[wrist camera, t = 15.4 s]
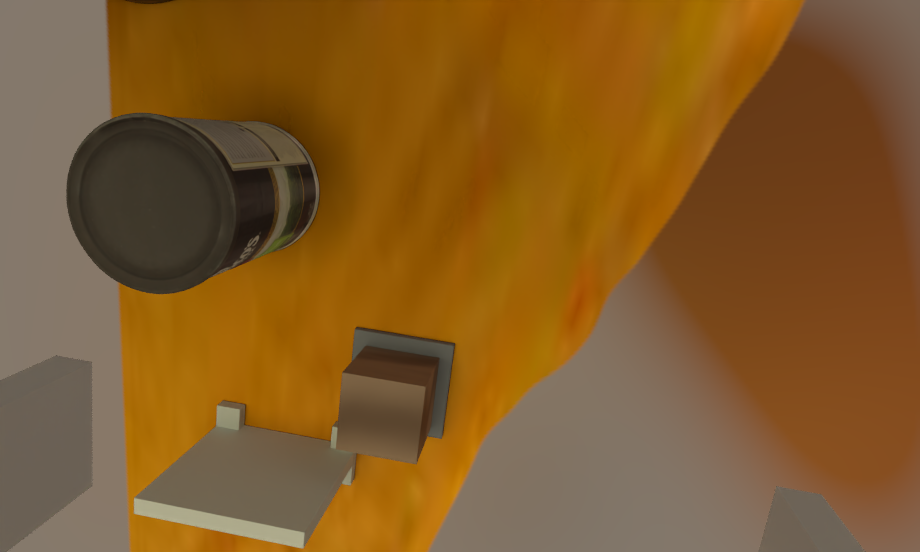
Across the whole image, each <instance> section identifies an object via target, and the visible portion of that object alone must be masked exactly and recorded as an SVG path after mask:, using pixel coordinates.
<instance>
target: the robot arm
mask: <svg viewBox="0 0 920 552" xmlns="http://www.w3.org/2000/svg"><path fill="white" fill-rule="evenodd" d="M126 1H130V2H135V3H145V4H153V3H161V2H167V1H170V0H126ZM90 487H92V362H89V361H83V360H78V359H73V358H67V357H62V356H54V357H52V358H50V359H48V360H45V361H43V362H41V363H39V364H36V365H34V366H32V367H29V368H27V369H25V370H23V371H20V372H18V373H16V374H14V375H11V376H9V377H7V378H5V379H2V380H0V552H7V551H8V550H9V549H11V548H12V547H13V546H15V545H16V544H17V543H19V542H20V541H21V540H23V539H24V538H25V537H26V536H28V535H29V534H30V533H32V532H33V531H34V530H35V529H37V528H38V527H39V526H41V525H42V524H43V523H44V522H46V521H47V520H49V519H50V518H51V517H53V516H54V515H55V514H56V513H58V512H59V511H60V510H61V509H63V508H64V507H66V506H67V505H68V504H69V503H71V502H72V501H73V500H75V499H76V498H77V497H78V496H80V495H81V494H82V493H84V492H85V491H86V490H88V489H89V488H90ZM759 552H865V551H864V549H863V548H862V547H861V545H860V544H859V543H858V542H857V540H856V539H855V538H854V536H853V535H852V534H851V532H850V531H849V530H848V528H847V527H846V526H845V525H844V524H843V522H842V521H841V519H840V518H839V517H838V516H837V514H836V513H835V512H834V510H833V509H832V508H831V506H830V505H829V504H828V503H827V502H826V500H825V499H824V497H823V496H822V495H821V494H816V493H810V492H804V491H799V490H794V489H788V488H782V487H776V490H775V494H774V497H773V501H772V505H771V509H770V512H769V515H768V519H767V523H766V526H765V530H764V534H763V537H762V541H761V545H760V548H759Z"/></svg>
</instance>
